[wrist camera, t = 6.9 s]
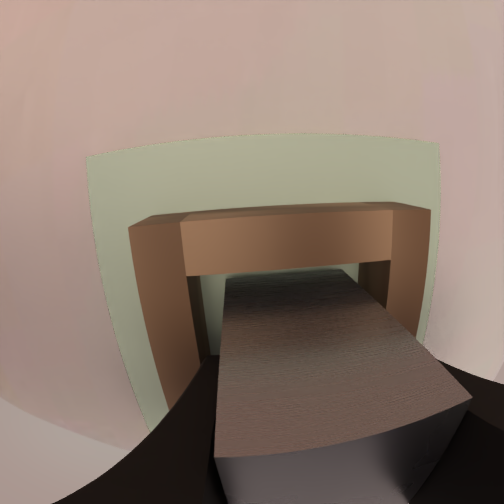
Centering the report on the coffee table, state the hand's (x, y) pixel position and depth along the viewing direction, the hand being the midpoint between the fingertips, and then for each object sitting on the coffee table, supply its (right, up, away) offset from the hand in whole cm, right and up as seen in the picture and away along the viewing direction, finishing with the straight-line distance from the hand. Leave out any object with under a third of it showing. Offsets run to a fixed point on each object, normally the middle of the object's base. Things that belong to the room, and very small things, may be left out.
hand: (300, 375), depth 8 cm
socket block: (0, +1, +4) cm, 4 cm away
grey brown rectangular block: (0, +1, +2) cm, 3 cm away
